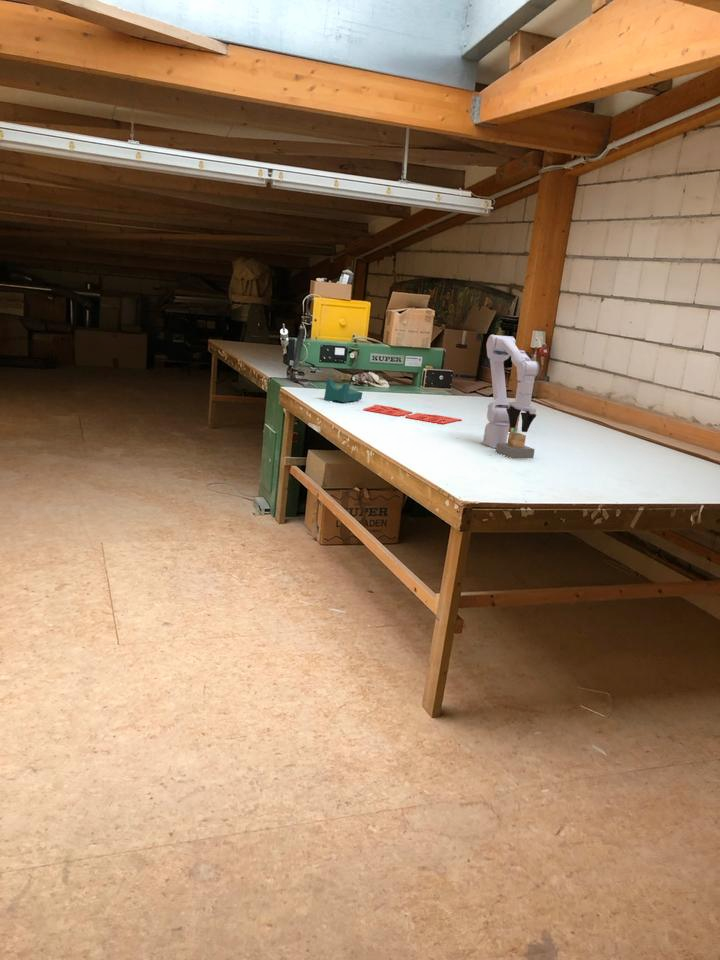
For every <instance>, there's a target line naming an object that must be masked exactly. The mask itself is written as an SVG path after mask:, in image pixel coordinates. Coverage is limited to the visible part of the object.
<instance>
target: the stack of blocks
mask: <svg viewBox="0 0 720 960" xmlns="http://www.w3.org/2000/svg"><path fill="white" fill-rule="evenodd" d="M520 415H521V413H520V414H519V416H518V419H517V424H516V427H515V428H511V427H510V426H509V429H508V432H510V433H518V428H519V427H518V425H519V421H520V418H521V417H520Z"/></svg>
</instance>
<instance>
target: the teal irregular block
mask: <svg viewBox="0 0 720 960" xmlns="http://www.w3.org/2000/svg"><path fill="white" fill-rule="evenodd" d="M334 381H335V379H334V378H327V381H326V385H325V391H324V397H323V401H327V402H330V401H332V402H331V403H337V402H341V403H347V402H354V401H360V400H362V397H363V392H362V391H358V390H354V389H351V388H350V383H348V382H345V383H343V384H342V386H341V387H337V386H336V385H335V382H334ZM336 401H337V402H336Z"/></svg>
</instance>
